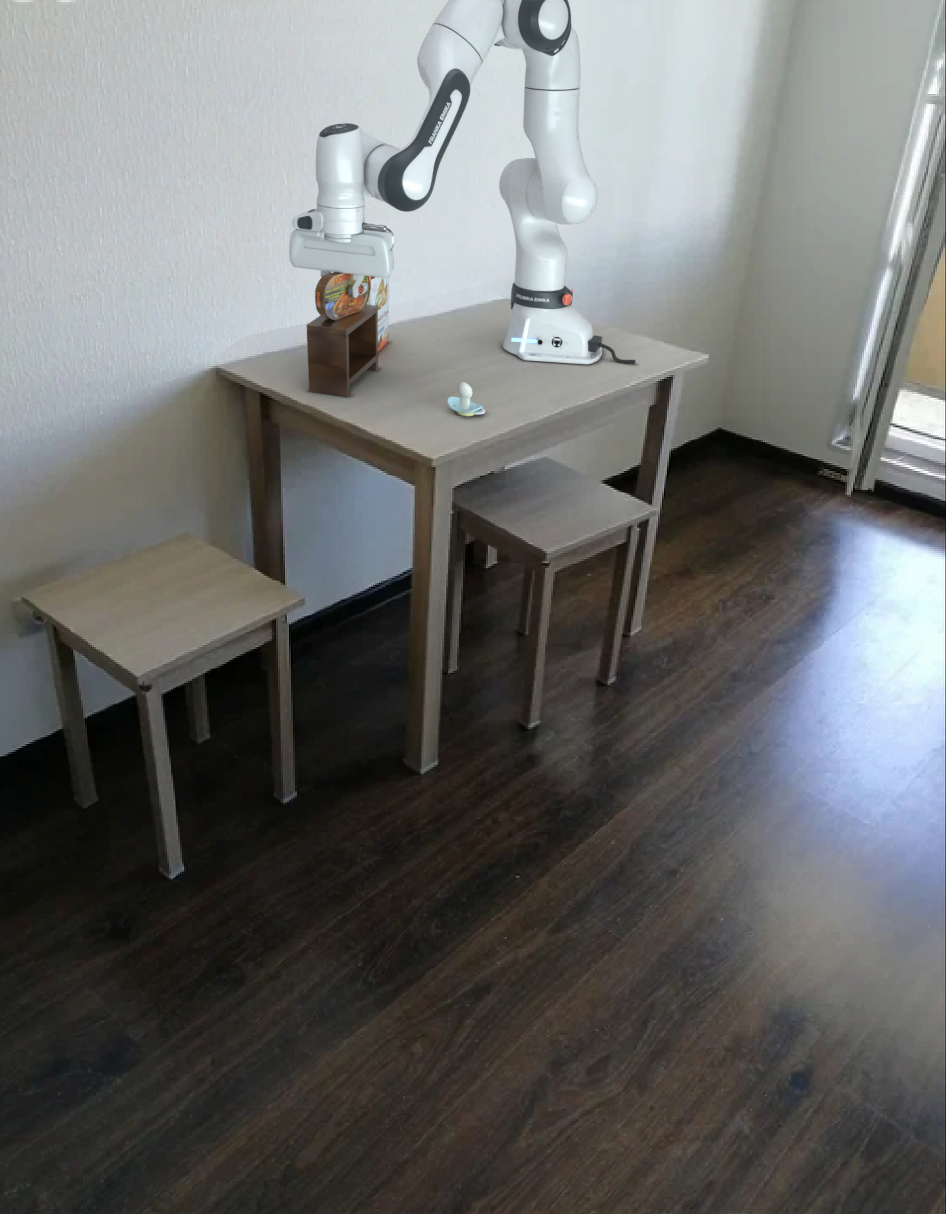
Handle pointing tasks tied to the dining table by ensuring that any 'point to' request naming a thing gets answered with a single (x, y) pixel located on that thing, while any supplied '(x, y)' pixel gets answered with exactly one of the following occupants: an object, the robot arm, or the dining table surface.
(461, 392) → the pacifier
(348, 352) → the brown hollow box
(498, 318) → the dining table surface
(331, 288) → the tin
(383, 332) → the cracker box
